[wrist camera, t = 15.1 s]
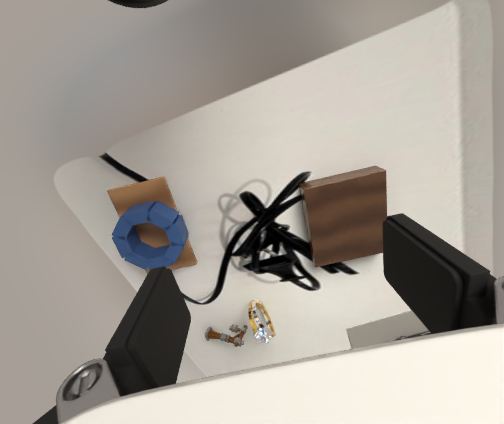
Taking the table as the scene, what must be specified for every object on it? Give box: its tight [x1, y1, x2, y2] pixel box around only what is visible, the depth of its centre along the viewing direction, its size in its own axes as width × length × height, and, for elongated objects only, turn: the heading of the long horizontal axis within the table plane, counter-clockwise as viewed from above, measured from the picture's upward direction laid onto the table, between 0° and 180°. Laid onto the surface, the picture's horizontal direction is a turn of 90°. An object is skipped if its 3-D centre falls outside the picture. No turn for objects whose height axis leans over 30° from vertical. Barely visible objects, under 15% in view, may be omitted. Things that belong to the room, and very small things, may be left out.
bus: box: [347, 310, 431, 349], centre depth 51 cm, size 14×25×4 cm, turn 110°
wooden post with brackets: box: [205, 325, 247, 347], centre depth 49 cm, size 2×8×4 cm, turn 100°
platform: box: [299, 166, 387, 267], centre depth 40 cm, size 14×12×3 cm
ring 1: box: [112, 201, 188, 270], centre depth 39 cm, size 10×10×4 cm
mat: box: [107, 177, 197, 274], centre depth 41 cm, size 16×9×1 cm, turn 13°
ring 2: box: [249, 299, 276, 343], centre depth 44 cm, size 7×3×8 cm, turn 28°
